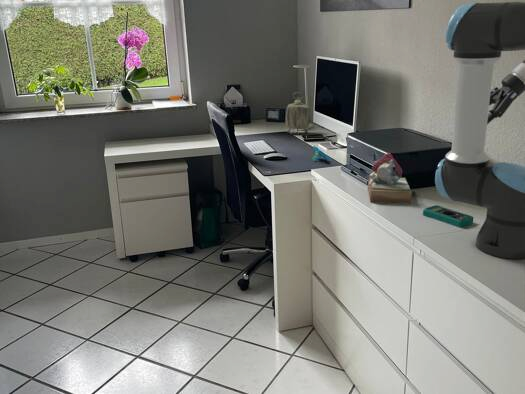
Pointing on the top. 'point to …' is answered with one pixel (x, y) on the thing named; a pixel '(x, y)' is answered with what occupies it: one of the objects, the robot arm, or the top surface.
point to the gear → (319, 154)
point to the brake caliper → (386, 171)
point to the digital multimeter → (448, 216)
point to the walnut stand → (390, 192)
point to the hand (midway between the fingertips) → (467, 126)
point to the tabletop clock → (297, 115)
